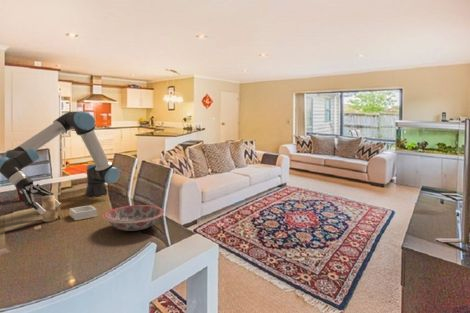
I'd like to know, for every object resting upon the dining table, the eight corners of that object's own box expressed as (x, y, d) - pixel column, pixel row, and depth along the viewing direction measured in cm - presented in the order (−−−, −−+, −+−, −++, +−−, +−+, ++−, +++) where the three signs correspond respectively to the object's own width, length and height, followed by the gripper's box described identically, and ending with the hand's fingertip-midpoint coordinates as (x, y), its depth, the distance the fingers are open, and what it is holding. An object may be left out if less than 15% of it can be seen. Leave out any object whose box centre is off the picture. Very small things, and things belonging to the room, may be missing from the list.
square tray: (91, 211, 173) (90, 205, 172) (97, 216, 164) (97, 209, 164) (69, 215, 165) (69, 208, 164) (75, 220, 156) (75, 213, 156)
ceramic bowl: (143, 215, 168) (143, 202, 167) (175, 227, 149) (175, 212, 148) (92, 228, 145) (92, 213, 144) (123, 244, 127) (122, 226, 126)
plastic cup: (17, 198, 198) (16, 181, 197) (36, 197, 202) (35, 180, 201) (12, 202, 188) (11, 184, 187) (32, 201, 193) (31, 183, 191)
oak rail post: (54, 217, 161) (53, 194, 159) (57, 220, 156) (55, 196, 155) (41, 219, 157) (40, 196, 155) (44, 222, 152) (42, 198, 151)
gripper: (32, 181, 166) (59, 207, 168) (-2, 191, 141) (31, 221, 144) (41, 172, 166) (68, 198, 168) (8, 181, 141) (41, 211, 143)
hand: (51, 209), depth 156 cm, fingers open, 13 cm apart
